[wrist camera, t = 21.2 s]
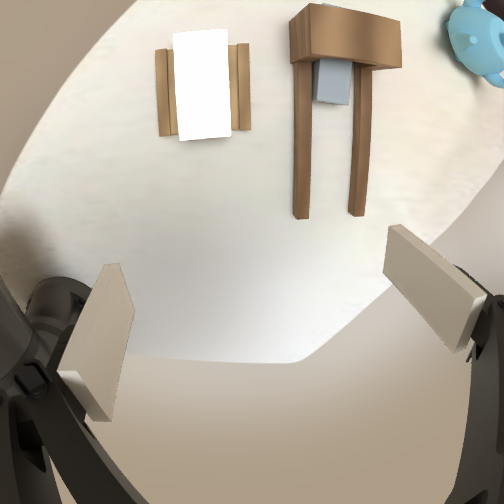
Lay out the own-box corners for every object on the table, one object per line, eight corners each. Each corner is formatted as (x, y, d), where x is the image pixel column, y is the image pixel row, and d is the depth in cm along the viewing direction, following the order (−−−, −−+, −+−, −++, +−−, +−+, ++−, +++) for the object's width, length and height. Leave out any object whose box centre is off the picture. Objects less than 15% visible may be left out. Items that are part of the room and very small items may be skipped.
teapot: (494, 43, 29) (538, 44, 20) (475, 97, 34) (522, 106, 25) (446, -10, 25) (490, -20, 16) (423, 44, 30) (472, 39, 21)
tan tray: (162, 134, 33) (159, 136, 31) (158, 52, 28) (155, 50, 27) (248, 128, 34) (250, 129, 32) (246, 46, 29) (248, 43, 28)
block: (228, 132, 33) (231, 136, 28) (183, 135, 32) (179, 141, 28) (224, 39, 28) (226, 29, 23) (178, 43, 27) (173, 33, 23)
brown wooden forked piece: (289, 214, 39) (308, 240, 32) (289, 21, 28) (309, 3, 21) (360, 210, 41) (388, 234, 33) (366, 32, 29) (399, 21, 22)
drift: (335, 104, 34) (348, 105, 31) (306, 100, 33) (316, 100, 30) (341, 17, 29) (354, 11, 25) (312, 11, 28) (323, 3, 25)
